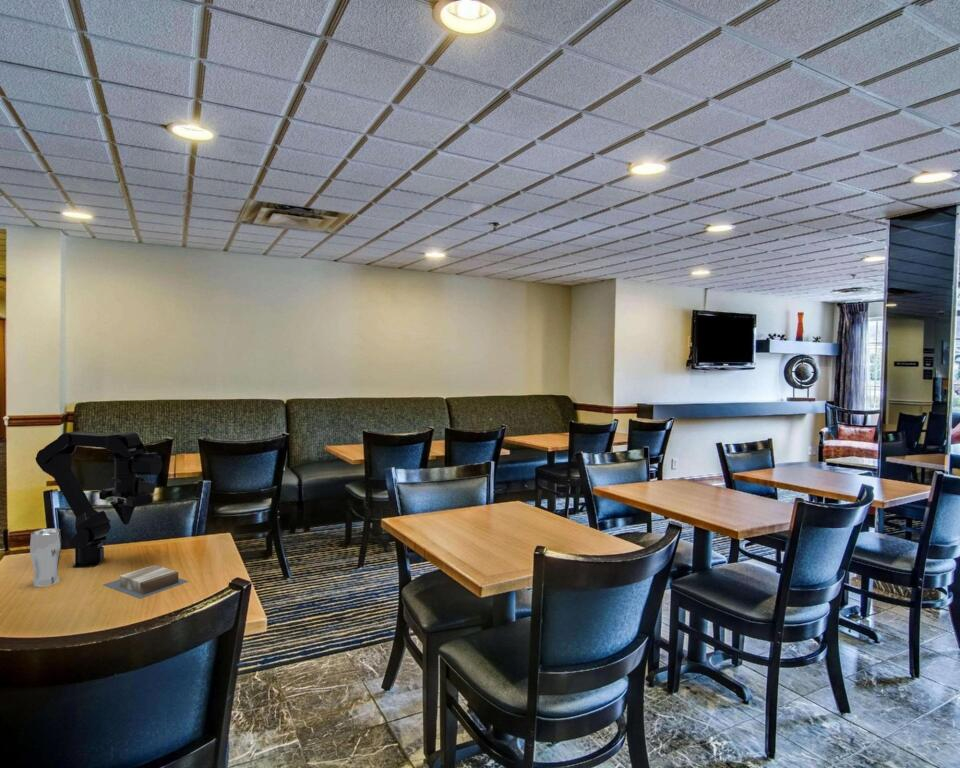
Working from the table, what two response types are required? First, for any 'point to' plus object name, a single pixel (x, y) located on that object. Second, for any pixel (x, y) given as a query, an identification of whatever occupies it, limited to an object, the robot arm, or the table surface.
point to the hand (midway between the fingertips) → (126, 524)
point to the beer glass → (45, 556)
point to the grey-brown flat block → (149, 579)
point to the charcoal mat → (116, 586)
